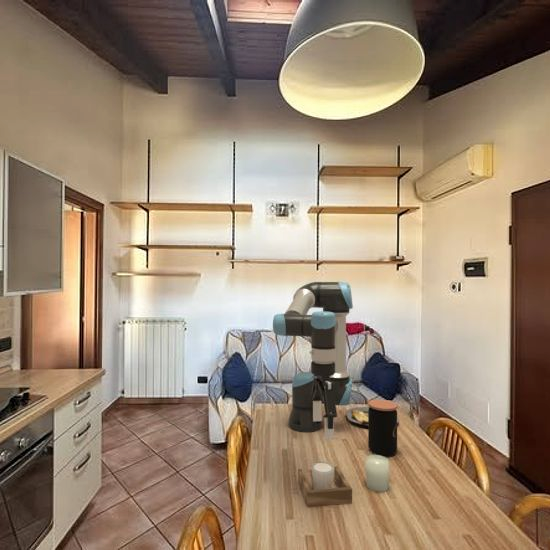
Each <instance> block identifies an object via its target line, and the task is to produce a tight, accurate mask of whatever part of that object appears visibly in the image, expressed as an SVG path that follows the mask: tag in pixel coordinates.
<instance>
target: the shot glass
mask: <svg viewBox="0 0 550 550" xmlns="http://www.w3.org/2000/svg"><path fill="white" fill-rule="evenodd" d="M334 467H335V466H333V465H332V464H331V463H329V462H322V461H320V462H315V463H313V464H312V465H311V474H312V486H313V490H319V489H331V488H333V481H334V479H333V478H334Z"/></svg>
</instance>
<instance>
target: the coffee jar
mask: <svg viewBox="0 0 550 550" xmlns="http://www.w3.org/2000/svg"><path fill="white" fill-rule="evenodd" d="M368 407H369V410H368V413H367V417H368V426H367V427H368V428H367V429H368V431H367V432H368V433H367V435H368V437H367V441H368V449H369V451H370V452H371V453H372V454H373V455H380V456H383V457H385V458H388V457H393V456H395V455H396V453H397V452H398V424H397V418H398V404H397V403H396V402H394V401H392V400H387V399H372V400H369V401H368Z"/></svg>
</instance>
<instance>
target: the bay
mask: <svg viewBox="0 0 550 550" xmlns="http://www.w3.org/2000/svg"><path fill="white" fill-rule="evenodd" d="M333 467H334V471H333V478H334V479H333V480H334V481H335V483H336V485H337V487H332V488H331V489H319V490H314V489H311V488H310V486H309V483H308V481H307V478H306V476H305V474H304V471H303V469H302V468H298V469H297V483H298V485H299V488H300V490H301V493H302V495H303V498H304V502H305V503H306V506H307V508H310V507H321V506H333V505H335V506H336V505H345V504H352V503H353V488H352V486H351V485H350V483H349V482H348V481H347V479H346V477H345V476H344V474H343V472H342V470H341V469H340V468H339V466H338V465H337V466H333Z"/></svg>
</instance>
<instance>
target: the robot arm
mask: <svg viewBox="0 0 550 550" xmlns="http://www.w3.org/2000/svg"><path fill="white" fill-rule="evenodd" d="M353 307H354V305H353V297H352V290H351V285H350V283H348V282H345V281H314V282H313V281H312V282H310V283H307V284H305V285H302V286H300V287H299V288H298V289H297V290H296V291H295V292H294V294H293V298H292V301H291V303H290V304H289V306H288V308H287V310H286V311H285V312H284V313H276V314H275V315H274V316H273V319H272V331H273V334H274V335H276V336H283V337H305V338H309V337H310V338H311V341H310V342H311V344H310V345H311V346H310V347H311V348H310V349H311V350H310V351H309V354H310V356H311V357H310V358H311V359H310V360H312V361H311V362H310V371H304V372H299V373H296V374H294V375H293V377H292V385H291V390H292V391H291V392H292V393H291V396H292V397H291V399H292V400H291V402H292V404H291V405H292V407H291V410H290V413H289V416H288V420H287V424H288V427H289V428H290V429H291V430H294V431H296V432H303V433H308V432H310V433H311V432H317V431H318V430H321V428H322V427H323V420H322V414H323V413H322V409H323V408H324V413H325V414H324V415H323V418H324V440H334V439H335V418H337V417H338V413H337V406H340V407H341V406H345V407H346V406H348V405H349V404H350V402H351V395H352V389H353V388H352V387H353V383H354V382H353V378H351V377H350V373H349V372H348V371H347V332H346V331H347V316H348V315H349V314H350V310H352V309H353ZM312 308H314V309H315V308H316V309H318V308H319V309H322V310H321V311H319V310H318V311H313V312H312V313H311V314H308V313H309V310H310V309H312ZM322 406H323V407H322Z"/></svg>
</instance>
